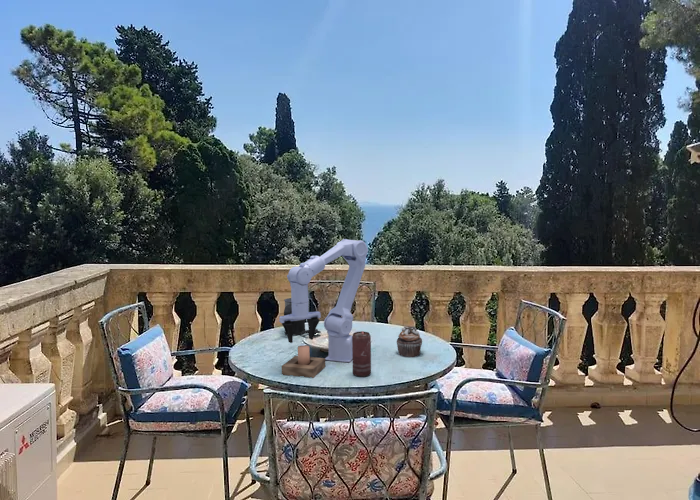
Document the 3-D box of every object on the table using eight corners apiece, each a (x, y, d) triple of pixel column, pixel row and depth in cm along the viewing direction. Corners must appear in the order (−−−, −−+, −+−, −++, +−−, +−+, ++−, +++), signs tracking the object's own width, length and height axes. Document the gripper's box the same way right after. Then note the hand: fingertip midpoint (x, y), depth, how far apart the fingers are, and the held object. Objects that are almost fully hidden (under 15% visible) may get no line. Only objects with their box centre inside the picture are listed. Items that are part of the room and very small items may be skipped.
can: (370, 370, 178) (369, 330, 176) (371, 377, 171) (371, 335, 170) (352, 371, 177) (351, 330, 176) (353, 377, 171) (352, 336, 170)
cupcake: (392, 351, 199) (392, 325, 198) (416, 349, 202) (416, 323, 200) (401, 358, 190) (401, 331, 189) (426, 356, 192) (426, 329, 191)
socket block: (325, 366, 182) (325, 358, 182) (313, 377, 171) (313, 369, 171) (295, 363, 186) (295, 355, 185) (281, 374, 175) (281, 365, 174)
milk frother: (285, 330, 232) (284, 297, 230) (321, 329, 232) (320, 296, 231) (282, 339, 218) (281, 304, 216) (320, 338, 218) (319, 303, 217)
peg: (311, 368, 180) (311, 345, 179) (307, 372, 176) (306, 349, 175) (300, 367, 181) (300, 344, 180) (296, 371, 177) (295, 348, 176)
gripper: (314, 297, 185) (315, 334, 187) (275, 302, 178) (276, 340, 180) (322, 301, 179) (323, 339, 181) (283, 305, 172) (284, 345, 174)
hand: (300, 340), depth 180 cm, fingers open, 7 cm apart
